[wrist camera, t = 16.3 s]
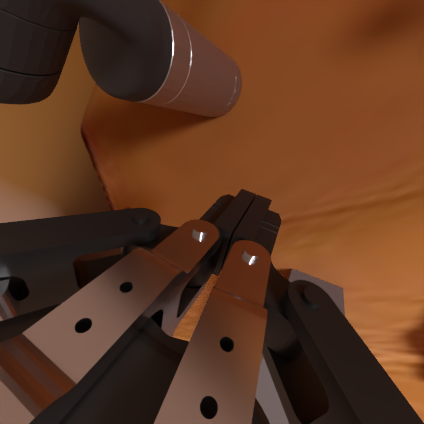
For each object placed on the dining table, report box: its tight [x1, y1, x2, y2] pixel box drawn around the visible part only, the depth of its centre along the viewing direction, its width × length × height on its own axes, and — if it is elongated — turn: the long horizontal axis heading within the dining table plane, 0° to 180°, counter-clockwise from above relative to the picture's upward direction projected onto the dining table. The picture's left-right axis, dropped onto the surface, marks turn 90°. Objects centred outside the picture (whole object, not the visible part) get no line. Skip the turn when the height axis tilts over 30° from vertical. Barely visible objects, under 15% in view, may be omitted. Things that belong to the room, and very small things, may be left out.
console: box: [255, 269, 345, 424], centre depth 35 cm, size 22×8×14 cm, turn 169°
